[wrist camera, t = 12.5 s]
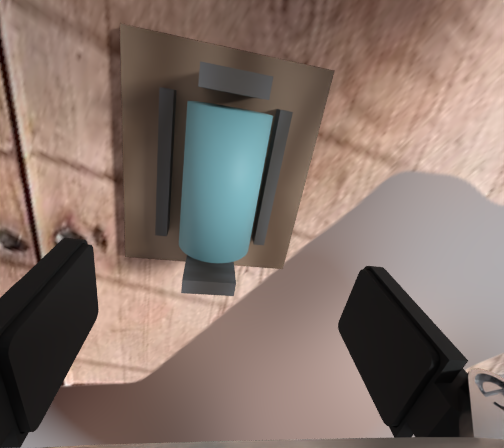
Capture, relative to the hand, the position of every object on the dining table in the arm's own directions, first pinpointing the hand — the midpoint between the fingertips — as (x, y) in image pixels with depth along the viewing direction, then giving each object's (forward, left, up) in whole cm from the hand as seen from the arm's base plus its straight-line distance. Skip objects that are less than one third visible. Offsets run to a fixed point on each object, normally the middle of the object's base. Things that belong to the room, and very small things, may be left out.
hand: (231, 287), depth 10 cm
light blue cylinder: (0, 0, -16) cm, 16 cm away
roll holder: (0, 0, -17) cm, 17 cm away
